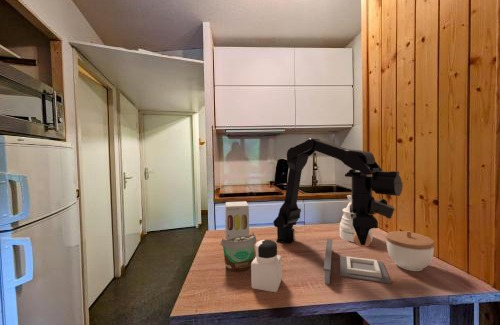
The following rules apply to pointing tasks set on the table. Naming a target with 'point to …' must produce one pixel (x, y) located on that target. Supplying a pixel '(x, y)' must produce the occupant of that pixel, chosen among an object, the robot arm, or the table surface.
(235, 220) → the supplement box
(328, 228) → the table surface
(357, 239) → the ball
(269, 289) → the medicine bottle
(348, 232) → the honey pot
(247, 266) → the food container
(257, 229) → the table surface
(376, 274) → the mat
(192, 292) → the table surface
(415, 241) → the lidded bowl
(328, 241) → the gray fence
